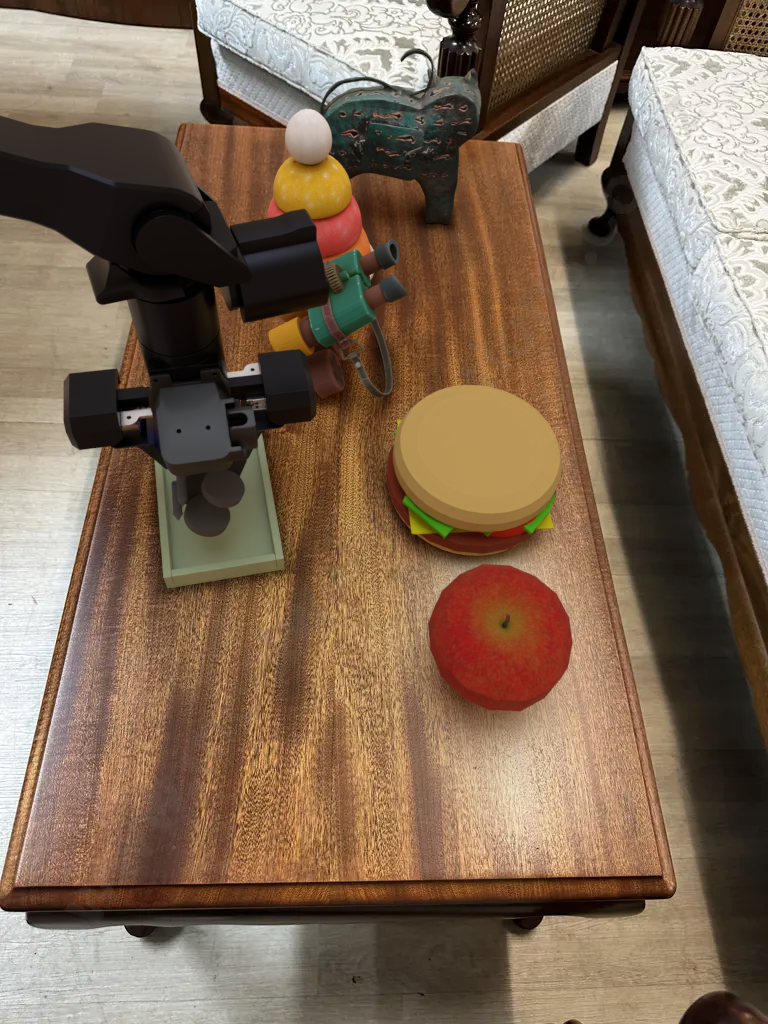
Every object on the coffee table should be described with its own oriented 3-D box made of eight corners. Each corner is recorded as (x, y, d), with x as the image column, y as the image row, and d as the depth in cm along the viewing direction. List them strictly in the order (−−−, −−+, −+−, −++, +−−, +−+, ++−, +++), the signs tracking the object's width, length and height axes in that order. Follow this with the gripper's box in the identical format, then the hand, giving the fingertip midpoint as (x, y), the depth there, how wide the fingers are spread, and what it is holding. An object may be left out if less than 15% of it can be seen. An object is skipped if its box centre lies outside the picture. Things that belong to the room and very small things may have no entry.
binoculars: (330, 346, 85) (256, 257, 73) (438, 296, 81) (376, 192, 69) (340, 439, 78) (259, 357, 66) (459, 390, 73) (394, 292, 61)
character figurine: (175, 551, 61) (172, 415, 69) (261, 538, 62) (249, 406, 70) (150, 500, 54) (150, 357, 62) (247, 487, 55) (235, 347, 63)
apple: (522, 758, 58) (565, 713, 48) (398, 706, 59) (414, 652, 49) (556, 639, 64) (601, 577, 53) (442, 594, 65) (465, 526, 55)
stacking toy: (373, 237, 91) (385, 77, 75) (376, 316, 84) (390, 157, 67) (260, 232, 90) (247, 69, 74) (253, 311, 83) (236, 149, 66)
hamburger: (377, 430, 75) (383, 377, 68) (529, 426, 77) (549, 374, 70) (392, 569, 66) (400, 524, 59) (563, 561, 68) (589, 516, 61)
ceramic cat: (460, 205, 96) (490, 43, 79) (462, 236, 93) (494, 74, 76) (312, 193, 95) (310, 27, 78) (308, 224, 92) (305, 57, 75)
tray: (167, 588, 64) (163, 577, 62) (155, 435, 72) (151, 421, 71) (284, 569, 65) (283, 558, 64) (259, 422, 74) (257, 408, 72)
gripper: (33, 433, 45) (98, 555, 58) (331, 398, 48) (327, 520, 61) (37, 309, 50) (95, 446, 63) (303, 285, 54) (305, 420, 67)
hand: (206, 460), depth 63 cm, fingers closed on character figurine, 6 cm apart
